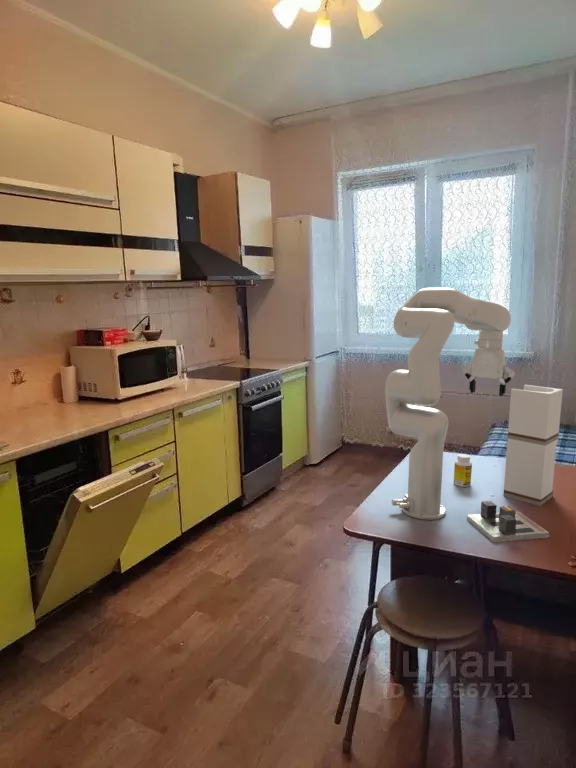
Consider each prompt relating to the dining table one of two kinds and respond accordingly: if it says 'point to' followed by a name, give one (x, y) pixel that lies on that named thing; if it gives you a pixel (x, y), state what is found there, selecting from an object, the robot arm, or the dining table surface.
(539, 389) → the tall open white box
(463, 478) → the supplement bottle
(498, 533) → the panel
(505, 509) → the block
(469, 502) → the dining table surface
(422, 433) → the robot arm
